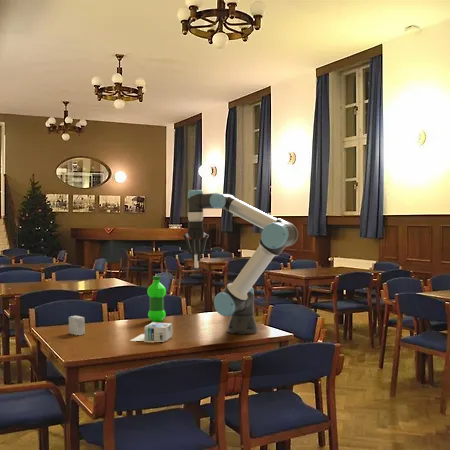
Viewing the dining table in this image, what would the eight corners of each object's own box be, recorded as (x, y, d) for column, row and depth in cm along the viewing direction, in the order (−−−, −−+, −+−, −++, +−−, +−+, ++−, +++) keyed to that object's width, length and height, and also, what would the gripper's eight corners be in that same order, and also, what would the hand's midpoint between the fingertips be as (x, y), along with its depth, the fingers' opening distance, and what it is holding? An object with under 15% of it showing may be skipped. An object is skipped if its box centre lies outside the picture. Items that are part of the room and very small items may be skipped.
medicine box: (85, 334, 285) (84, 317, 285) (77, 336, 282) (77, 318, 281) (76, 332, 290) (76, 315, 290) (68, 333, 287) (68, 316, 287)
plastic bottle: (165, 322, 314) (165, 277, 314) (146, 322, 314) (145, 277, 314) (167, 319, 324) (167, 275, 324) (148, 319, 325) (148, 275, 324)
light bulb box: (166, 327, 268) (144, 326, 270) (165, 341, 268) (143, 340, 270) (172, 323, 278) (151, 321, 281) (172, 336, 279) (151, 335, 281)
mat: (172, 336, 281) (172, 335, 281) (162, 342, 266) (162, 342, 266) (141, 334, 285) (141, 333, 285) (129, 341, 270) (129, 340, 270)
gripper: (209, 220, 291) (210, 267, 291) (184, 220, 293) (185, 267, 293) (207, 220, 284) (207, 268, 284) (181, 221, 286) (182, 268, 286)
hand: (196, 267), depth 289 cm, fingers closed
